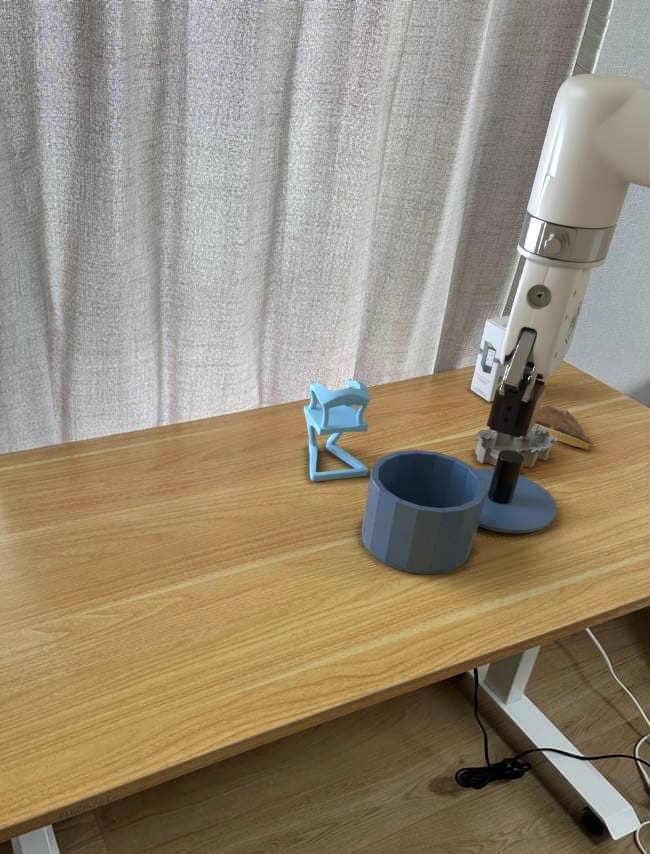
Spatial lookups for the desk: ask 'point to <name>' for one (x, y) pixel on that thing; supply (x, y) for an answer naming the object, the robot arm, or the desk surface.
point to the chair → (336, 424)
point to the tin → (422, 511)
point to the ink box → (490, 359)
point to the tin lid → (514, 498)
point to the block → (536, 399)
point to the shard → (562, 426)
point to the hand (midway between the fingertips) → (512, 421)
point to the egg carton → (514, 445)
